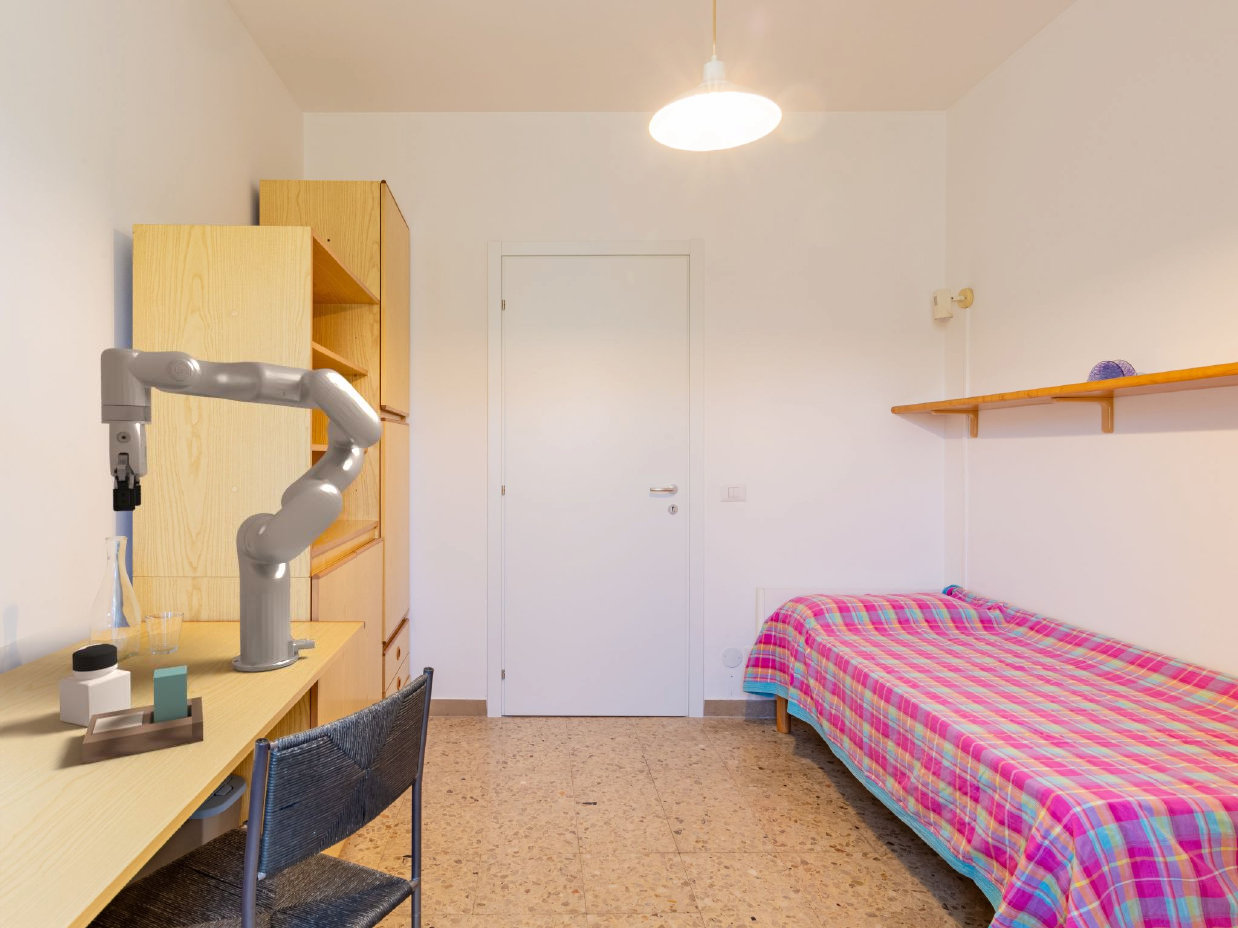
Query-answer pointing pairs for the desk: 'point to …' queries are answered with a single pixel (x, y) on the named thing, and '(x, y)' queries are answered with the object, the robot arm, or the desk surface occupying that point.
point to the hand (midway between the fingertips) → (127, 508)
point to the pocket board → (139, 732)
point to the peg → (170, 693)
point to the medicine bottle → (94, 685)
